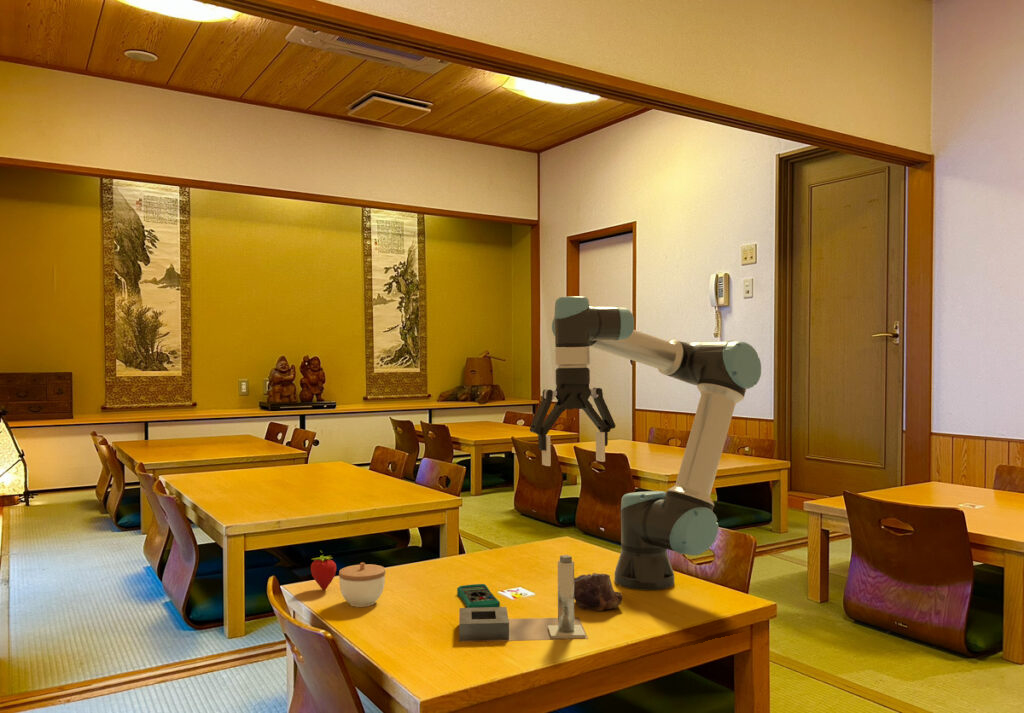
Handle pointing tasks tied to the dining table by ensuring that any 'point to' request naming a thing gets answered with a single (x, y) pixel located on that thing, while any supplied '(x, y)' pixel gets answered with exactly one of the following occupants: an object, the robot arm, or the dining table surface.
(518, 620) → the board
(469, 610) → the block
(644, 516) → the robot arm
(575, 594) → the rock
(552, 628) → the pad
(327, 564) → the strawberry
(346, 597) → the lidded jar
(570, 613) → the silver metal post
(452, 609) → the dining table surface
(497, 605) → the digital multimeter
